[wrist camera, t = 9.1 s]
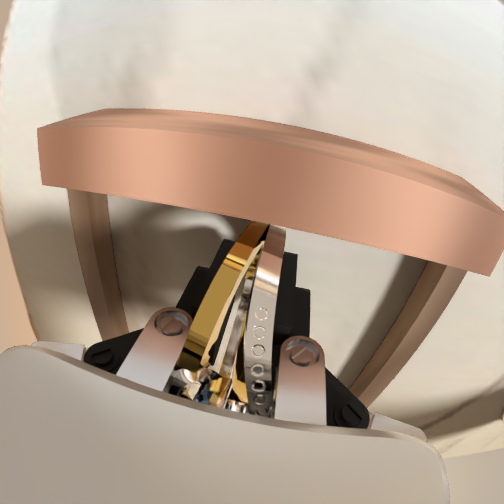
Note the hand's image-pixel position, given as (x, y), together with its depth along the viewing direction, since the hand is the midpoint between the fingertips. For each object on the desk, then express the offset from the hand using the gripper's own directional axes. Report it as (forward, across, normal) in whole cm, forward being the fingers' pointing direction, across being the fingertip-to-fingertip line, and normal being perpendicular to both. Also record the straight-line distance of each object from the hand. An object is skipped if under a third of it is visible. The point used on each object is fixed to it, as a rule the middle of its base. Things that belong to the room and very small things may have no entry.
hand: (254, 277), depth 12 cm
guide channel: (+1, 0, +6) cm, 6 cm away
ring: (+1, 0, 0) cm, 1 cm away
